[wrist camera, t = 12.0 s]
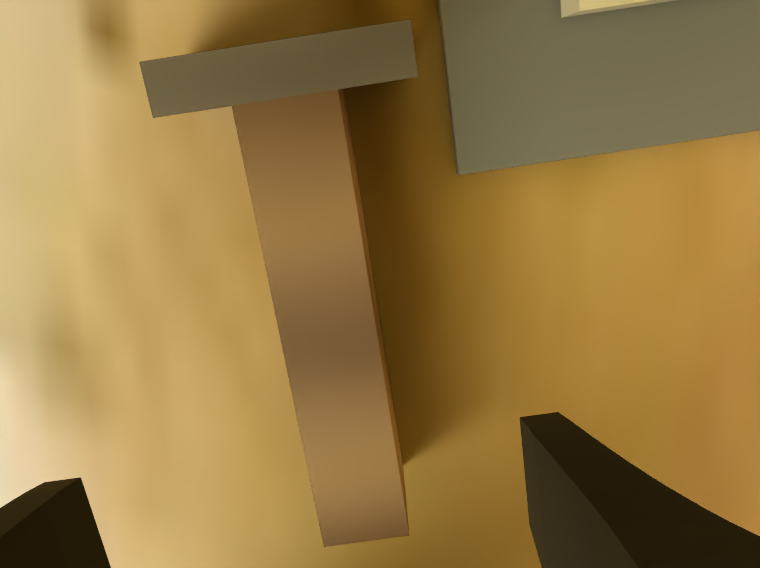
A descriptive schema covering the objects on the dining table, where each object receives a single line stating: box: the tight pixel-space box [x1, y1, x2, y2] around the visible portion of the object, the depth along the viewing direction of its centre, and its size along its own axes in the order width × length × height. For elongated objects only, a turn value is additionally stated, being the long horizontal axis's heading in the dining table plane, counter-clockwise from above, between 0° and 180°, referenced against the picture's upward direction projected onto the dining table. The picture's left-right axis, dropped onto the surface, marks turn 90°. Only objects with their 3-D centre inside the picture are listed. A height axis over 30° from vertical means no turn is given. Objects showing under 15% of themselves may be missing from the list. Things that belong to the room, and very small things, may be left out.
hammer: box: [139, 19, 418, 547], centre depth 18 cm, size 13×6×4 cm, turn 8°
